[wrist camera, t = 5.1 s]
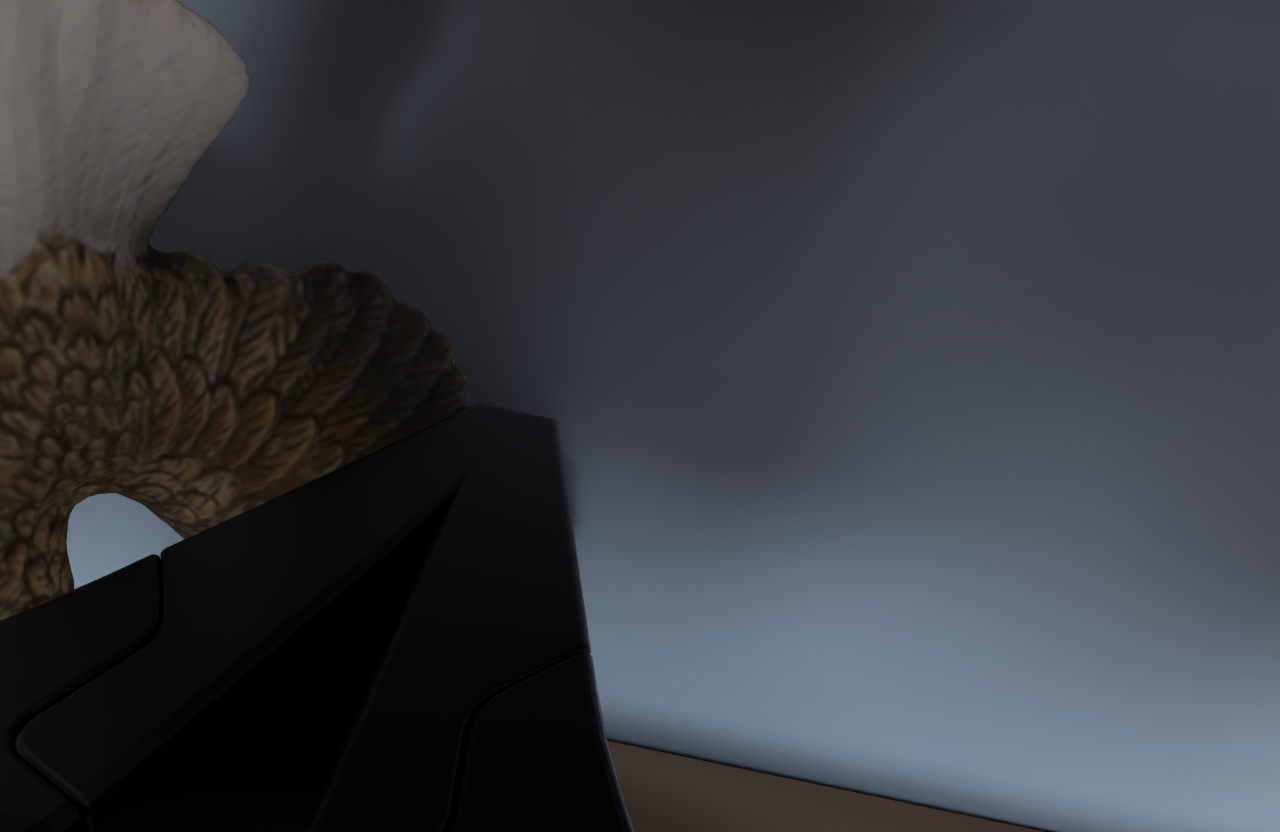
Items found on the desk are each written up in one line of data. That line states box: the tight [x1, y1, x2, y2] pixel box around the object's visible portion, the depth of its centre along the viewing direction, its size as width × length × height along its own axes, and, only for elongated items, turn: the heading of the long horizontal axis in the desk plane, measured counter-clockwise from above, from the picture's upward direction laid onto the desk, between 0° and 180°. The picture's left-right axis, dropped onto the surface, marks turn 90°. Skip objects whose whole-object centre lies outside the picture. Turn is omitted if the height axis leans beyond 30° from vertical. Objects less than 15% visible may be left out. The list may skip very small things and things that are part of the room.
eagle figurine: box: [0, 0, 468, 620], centre depth 9 cm, size 8×7×9 cm
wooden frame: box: [607, 741, 1043, 832], centre depth 9 cm, size 12×18×3 cm, turn 83°
